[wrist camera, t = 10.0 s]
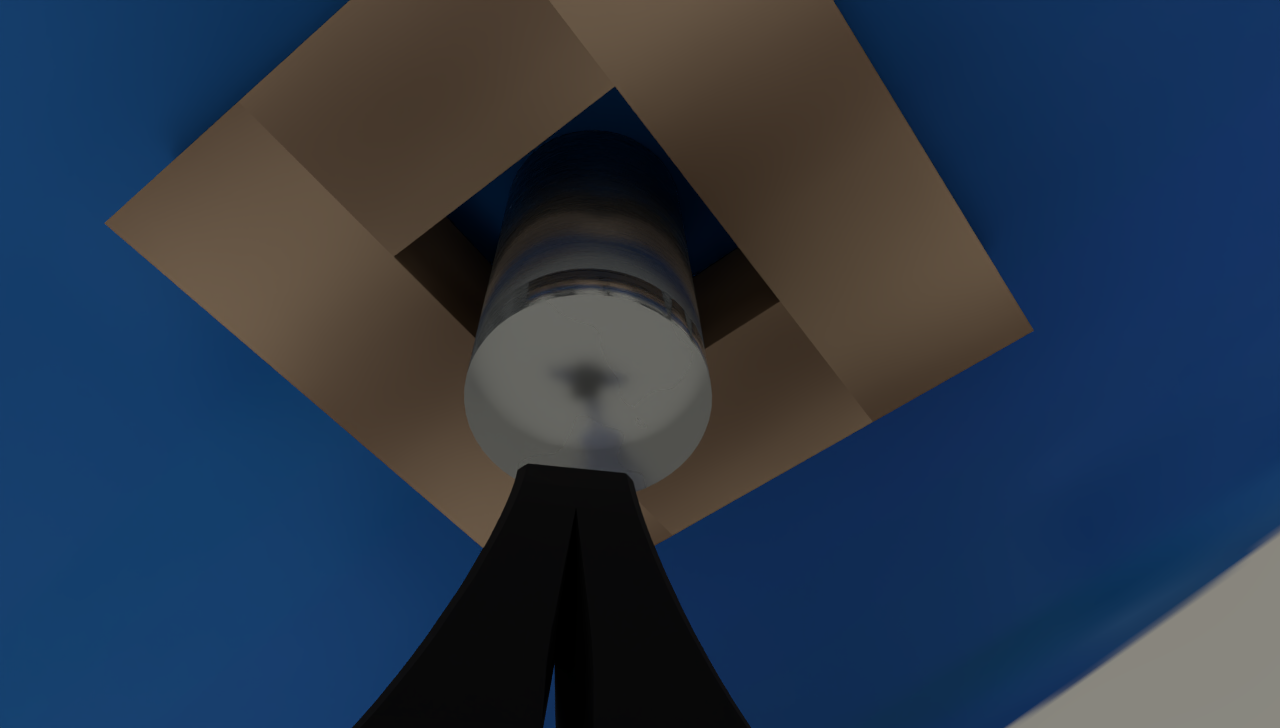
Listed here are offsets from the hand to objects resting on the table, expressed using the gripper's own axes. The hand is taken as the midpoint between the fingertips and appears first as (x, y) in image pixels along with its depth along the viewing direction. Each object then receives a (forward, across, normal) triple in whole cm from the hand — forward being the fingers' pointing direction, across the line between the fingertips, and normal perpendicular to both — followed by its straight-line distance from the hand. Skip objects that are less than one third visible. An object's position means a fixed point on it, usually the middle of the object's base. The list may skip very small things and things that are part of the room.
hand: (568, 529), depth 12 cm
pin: (+9, 0, 0) cm, 9 cm away
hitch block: (+9, 0, 0) cm, 9 cm away
